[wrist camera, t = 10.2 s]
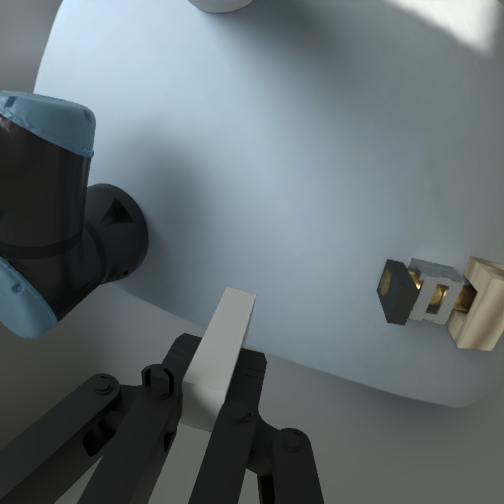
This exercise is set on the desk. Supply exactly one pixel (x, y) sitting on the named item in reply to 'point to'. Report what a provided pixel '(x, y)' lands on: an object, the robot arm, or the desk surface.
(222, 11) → the tall pillar cylinder
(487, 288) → the socket
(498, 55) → the desk surface
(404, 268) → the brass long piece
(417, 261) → the sleeve
